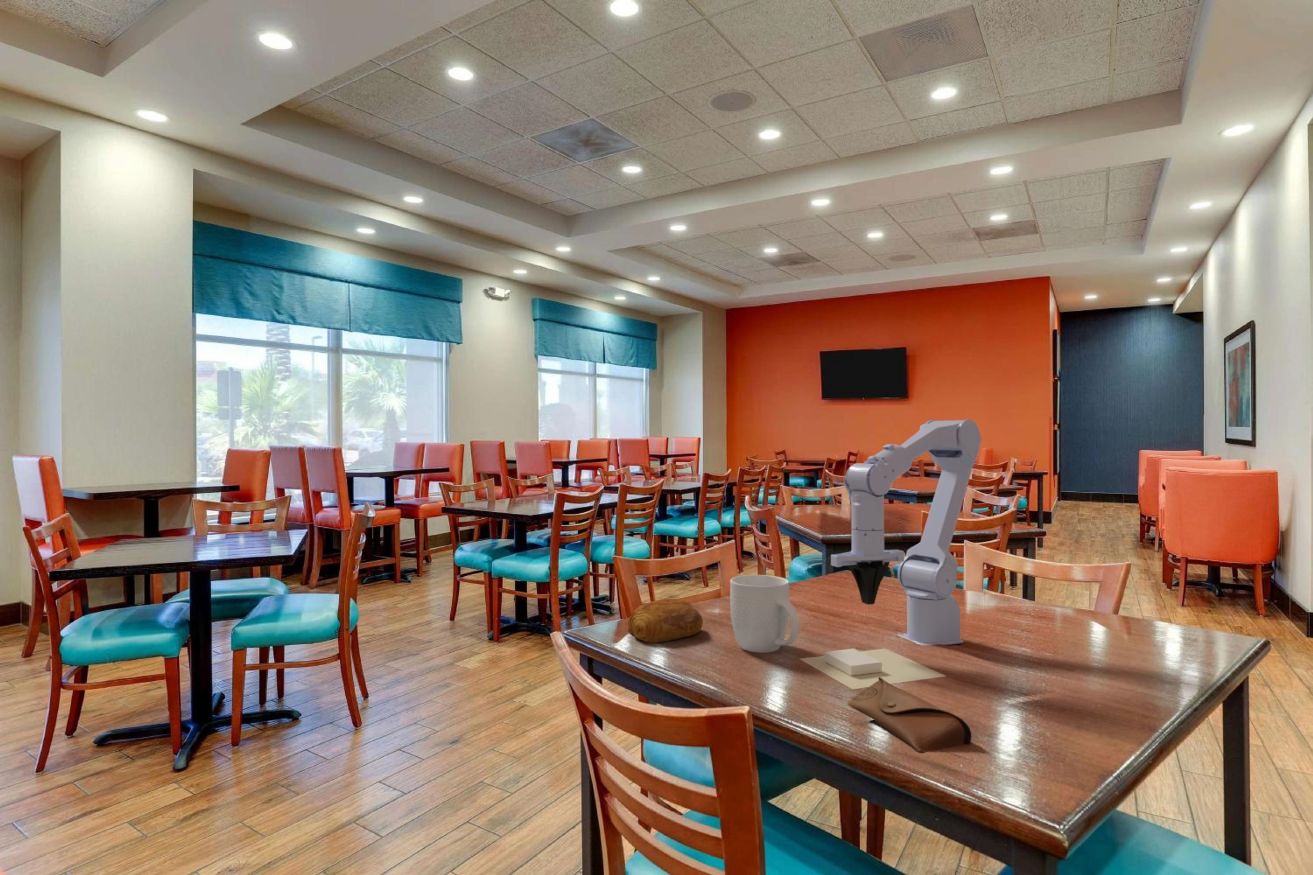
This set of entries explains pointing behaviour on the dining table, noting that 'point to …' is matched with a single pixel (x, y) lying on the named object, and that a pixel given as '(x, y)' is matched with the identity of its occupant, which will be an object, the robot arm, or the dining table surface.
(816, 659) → the mat
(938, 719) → the sunglasses case
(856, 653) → the tile
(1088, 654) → the dining table surface
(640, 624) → the brown rounded lump
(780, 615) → the mug
